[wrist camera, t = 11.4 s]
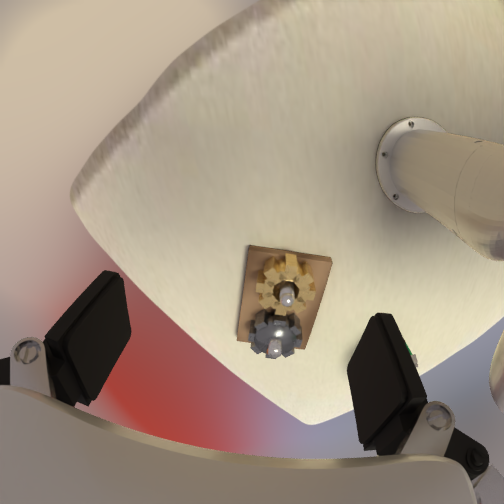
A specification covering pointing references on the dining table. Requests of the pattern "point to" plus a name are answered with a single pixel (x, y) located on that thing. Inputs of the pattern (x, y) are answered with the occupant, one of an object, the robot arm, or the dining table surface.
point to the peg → (287, 293)
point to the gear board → (251, 297)
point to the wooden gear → (288, 272)
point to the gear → (275, 334)
